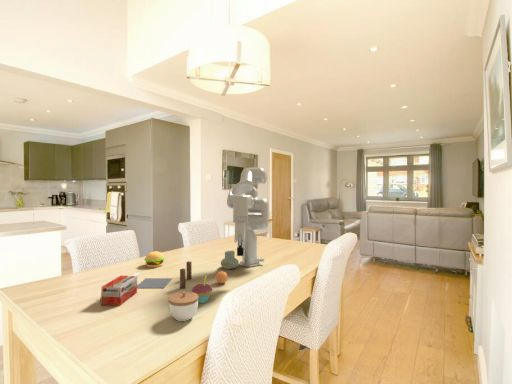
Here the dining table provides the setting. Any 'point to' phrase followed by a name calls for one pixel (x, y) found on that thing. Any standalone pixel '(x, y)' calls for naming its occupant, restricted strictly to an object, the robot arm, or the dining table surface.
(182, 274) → the post
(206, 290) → the cupcake
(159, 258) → the hamburger
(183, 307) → the lidded jar
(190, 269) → the post
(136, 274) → the stopper wall
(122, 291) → the medicine box
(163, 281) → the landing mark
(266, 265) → the dining table surface
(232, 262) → the air freshener
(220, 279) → the ball
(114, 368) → the dining table surface
